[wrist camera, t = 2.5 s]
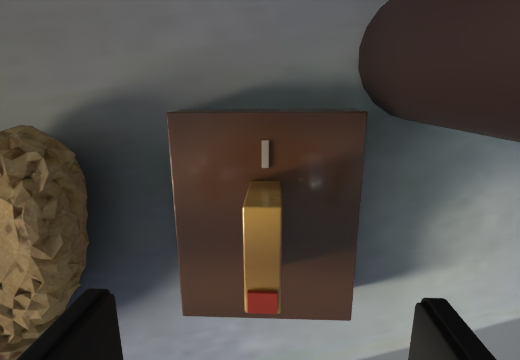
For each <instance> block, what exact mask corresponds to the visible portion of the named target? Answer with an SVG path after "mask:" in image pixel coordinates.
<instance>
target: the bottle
mask: <svg viewBox="0 0 520 360" xmlns="http://www.w3.org/2000/svg"><path fill="white" fill-rule="evenodd" d="M359 72H360V76H361V80H362V84H363V87H364V89H365V90H366V92H367V93H368V95H369V96H370V98H371V99H372V101H373V102H374V104H376V105H377V106H378V107H380V108H381V109H382V110H384V111H385V112H386V113H388V114H390V115H393V116H396V117H399V118H403V119H406V120H410V121H415V122H420V123H425V124H430V125H435V126H440V127H445V128H450V129H455V130H460V131H465V132H471V133H476V134H481V135H486V136H491V137H496V138H501V139H506V140H511V141H516V142H520V0H389V1H388V2H387V3H386V4H385V5H383V6H382V7H381V8H380V9H379V10H378V12H377V13H376V15H375V16H374V17H373V19H372V20H371V22H370V23H369V25H368V26H367V28H366V31H365V34H364V36H363V39H362V42H361V45H360V49H359Z"/></svg>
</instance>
